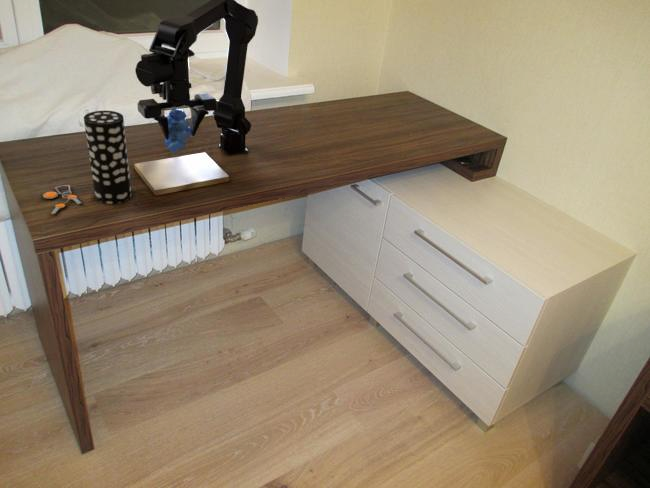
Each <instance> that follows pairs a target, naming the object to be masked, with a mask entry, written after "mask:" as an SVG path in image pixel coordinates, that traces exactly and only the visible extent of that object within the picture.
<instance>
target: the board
mask: <svg viewBox="0 0 650 488" xmlns="http://www.w3.org/2000/svg"><path fill="white" fill-rule="evenodd" d="M133 165H134V170H135V171H136V172H137V174H138V175H139V177H140V178H141V179H142V180H143V182H144V183H145V184H146V185H147V187H148V189H150V191H151V192H152V193H153V194H154V195H155V196H161V195H166V194H171V193H175V192H181V191H186V190H192V189H196V188H201V187H207V186H213V185H218V184H222V183H227V182H230V176H229V174H227V172H225V170H223V168H221V166H219V165H218V164H217V163H216V162H215V161H214V159H212V158H211V157H210V156H209V155H208V153H206V152H199V153H193V154H186V155H181V156H180V155H179V156H174V157H169V158H162V159H155V160H150V161H143V162H137V163H134V164H133Z"/></svg>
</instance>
